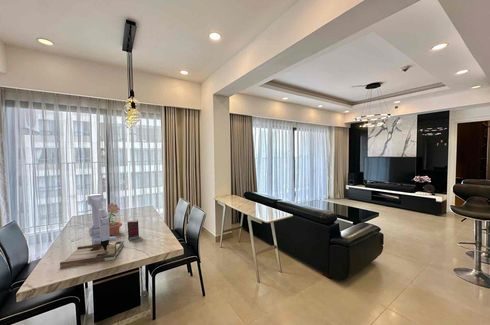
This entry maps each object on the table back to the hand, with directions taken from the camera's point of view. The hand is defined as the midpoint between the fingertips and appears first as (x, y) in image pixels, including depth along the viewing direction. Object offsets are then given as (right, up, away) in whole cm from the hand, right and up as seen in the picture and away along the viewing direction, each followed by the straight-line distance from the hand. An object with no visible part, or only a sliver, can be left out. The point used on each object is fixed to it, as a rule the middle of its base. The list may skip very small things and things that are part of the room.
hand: (105, 249), depth 152 cm
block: (+4, -1, +1) cm, 4 cm away
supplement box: (+6, -2, +27) cm, 28 cm away
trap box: (-7, -3, -2) cm, 8 cm away
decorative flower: (-19, -2, +37) cm, 42 cm away
